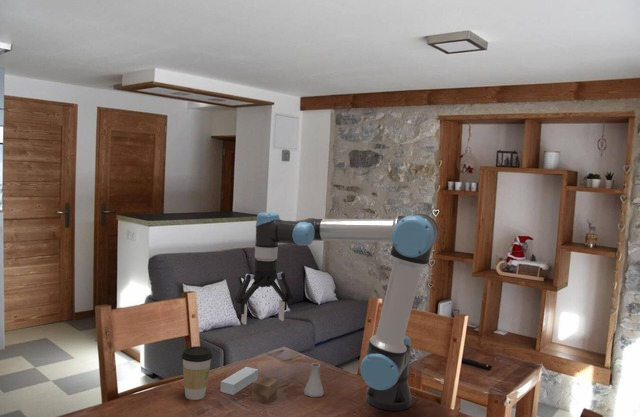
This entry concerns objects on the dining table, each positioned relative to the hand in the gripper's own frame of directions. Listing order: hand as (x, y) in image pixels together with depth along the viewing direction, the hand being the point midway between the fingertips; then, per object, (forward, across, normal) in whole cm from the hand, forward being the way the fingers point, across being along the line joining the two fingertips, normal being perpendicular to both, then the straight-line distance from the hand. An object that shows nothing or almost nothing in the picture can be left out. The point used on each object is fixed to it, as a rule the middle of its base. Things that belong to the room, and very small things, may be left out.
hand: (262, 321), depth 181 cm
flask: (+24, -16, +8) cm, 30 cm away
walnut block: (+24, +1, +7) cm, 25 cm away
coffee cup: (+24, +21, -3) cm, 32 cm away
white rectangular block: (+24, +5, -6) cm, 25 cm away
